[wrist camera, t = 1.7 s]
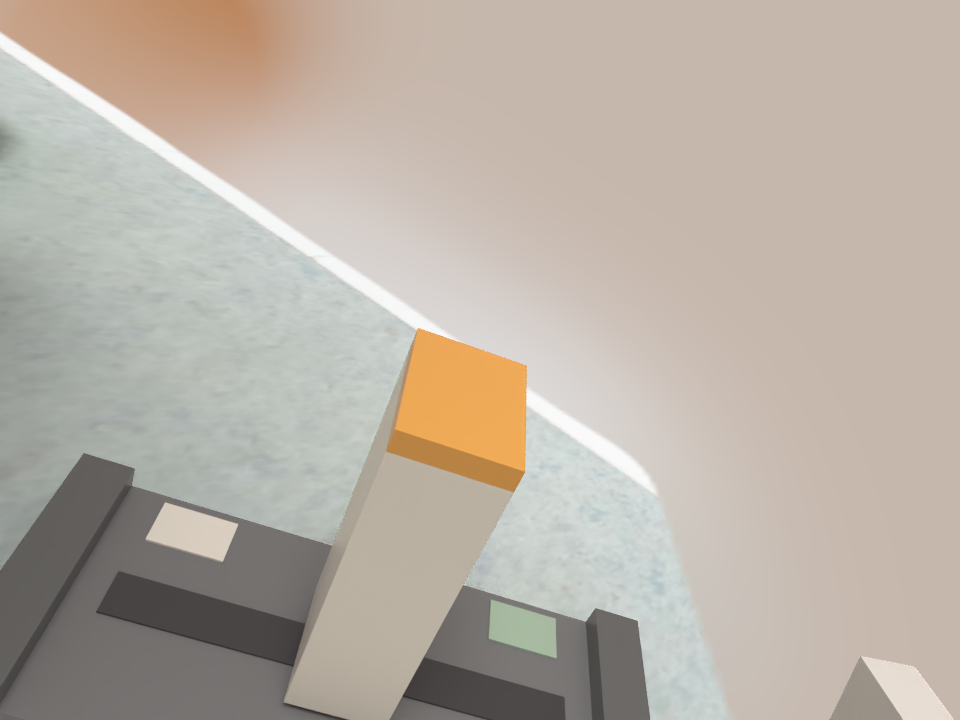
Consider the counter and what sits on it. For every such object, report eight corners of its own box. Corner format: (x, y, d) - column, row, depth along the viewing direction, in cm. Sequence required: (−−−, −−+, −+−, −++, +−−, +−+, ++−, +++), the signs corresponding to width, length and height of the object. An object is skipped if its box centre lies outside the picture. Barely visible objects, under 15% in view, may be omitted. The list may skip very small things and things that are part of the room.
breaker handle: (283, 702, 28) (394, 429, 21) (316, 587, 32) (418, 328, 25) (384, 729, 28) (525, 471, 21) (403, 612, 32) (526, 365, 26)
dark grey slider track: (-74, 721, 25) (-74, 675, 24) (78, 496, 33) (84, 453, 32) (635, 895, 29) (668, 864, 27) (612, 653, 37) (637, 620, 36)
